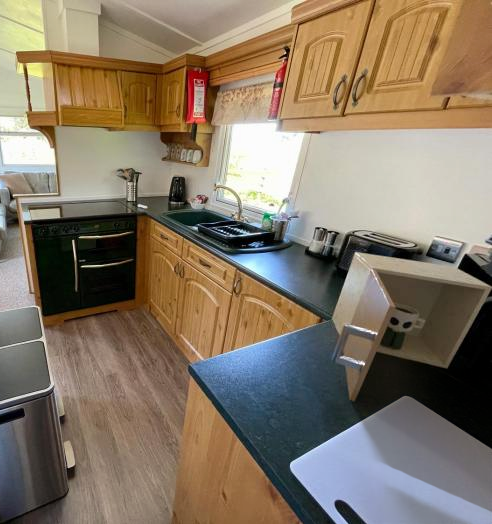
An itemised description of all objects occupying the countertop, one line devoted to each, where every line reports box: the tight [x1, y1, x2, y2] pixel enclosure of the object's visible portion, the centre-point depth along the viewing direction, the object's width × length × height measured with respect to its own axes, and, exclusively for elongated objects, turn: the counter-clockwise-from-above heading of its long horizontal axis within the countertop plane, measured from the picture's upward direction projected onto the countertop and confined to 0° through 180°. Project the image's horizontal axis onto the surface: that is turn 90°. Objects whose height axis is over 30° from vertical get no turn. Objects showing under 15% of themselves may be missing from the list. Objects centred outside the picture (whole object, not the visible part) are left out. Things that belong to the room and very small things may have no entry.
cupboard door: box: [330, 269, 396, 402], centre depth 76 cm, size 7×26×26 cm, turn 150°
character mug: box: [380, 303, 425, 350], centre depth 88 cm, size 11×7×13 cm, turn 55°
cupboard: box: [331, 251, 492, 369], centre depth 89 cm, size 16×26×26 cm, turn 70°
